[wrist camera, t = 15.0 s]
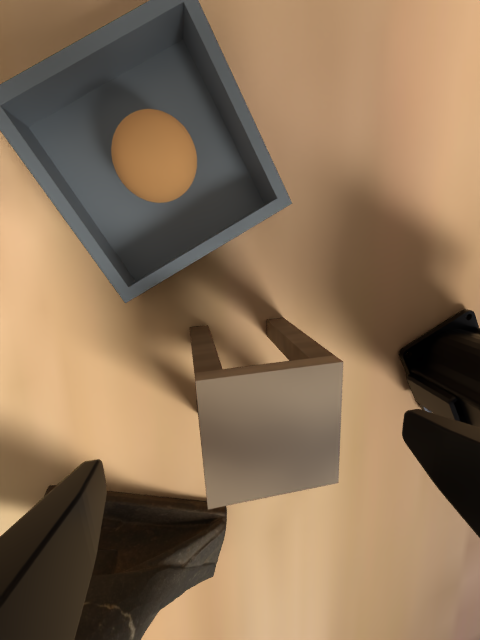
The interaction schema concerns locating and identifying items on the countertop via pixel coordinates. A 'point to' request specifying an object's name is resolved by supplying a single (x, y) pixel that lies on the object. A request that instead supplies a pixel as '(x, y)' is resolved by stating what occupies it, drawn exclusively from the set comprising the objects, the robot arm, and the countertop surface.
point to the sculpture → (147, 561)
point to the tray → (104, 117)
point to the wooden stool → (268, 418)
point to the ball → (154, 155)
